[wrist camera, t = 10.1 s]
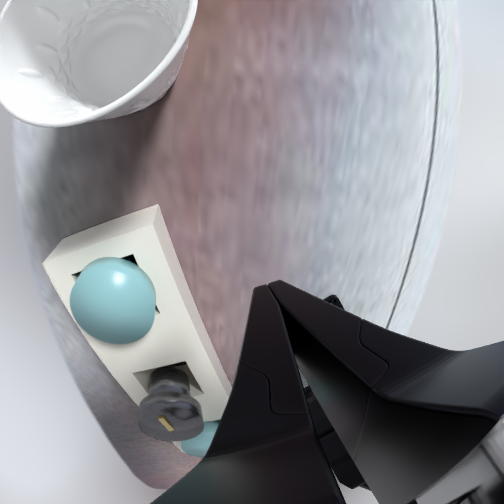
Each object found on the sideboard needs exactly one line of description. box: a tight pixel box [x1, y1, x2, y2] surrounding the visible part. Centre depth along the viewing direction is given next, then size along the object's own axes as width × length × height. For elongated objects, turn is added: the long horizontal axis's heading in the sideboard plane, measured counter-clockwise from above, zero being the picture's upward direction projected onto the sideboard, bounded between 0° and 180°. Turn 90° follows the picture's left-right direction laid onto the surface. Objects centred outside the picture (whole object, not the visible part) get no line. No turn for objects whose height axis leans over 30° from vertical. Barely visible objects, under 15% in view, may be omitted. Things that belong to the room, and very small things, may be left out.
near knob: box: [70, 254, 156, 344], centre depth 17 cm, size 5×5×5 cm
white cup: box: [0, 0, 198, 128], centre depth 10 cm, size 8×8×10 cm
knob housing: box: [42, 204, 232, 453], centre depth 22 cm, size 25×8×4 cm, turn 14°
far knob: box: [181, 420, 220, 457], centre depth 25 cm, size 5×5×5 cm
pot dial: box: [139, 367, 204, 441], centre depth 19 cm, size 5×5×5 cm
